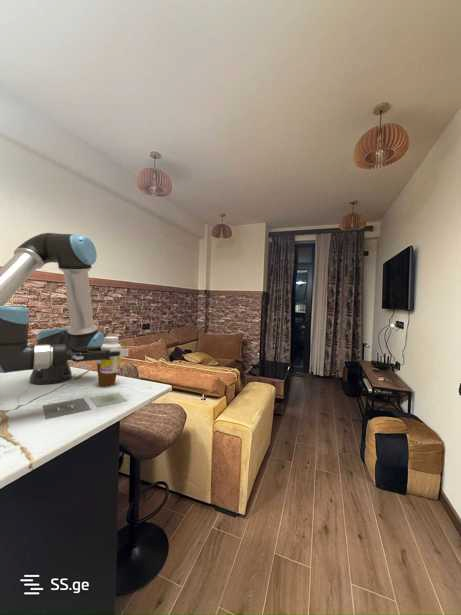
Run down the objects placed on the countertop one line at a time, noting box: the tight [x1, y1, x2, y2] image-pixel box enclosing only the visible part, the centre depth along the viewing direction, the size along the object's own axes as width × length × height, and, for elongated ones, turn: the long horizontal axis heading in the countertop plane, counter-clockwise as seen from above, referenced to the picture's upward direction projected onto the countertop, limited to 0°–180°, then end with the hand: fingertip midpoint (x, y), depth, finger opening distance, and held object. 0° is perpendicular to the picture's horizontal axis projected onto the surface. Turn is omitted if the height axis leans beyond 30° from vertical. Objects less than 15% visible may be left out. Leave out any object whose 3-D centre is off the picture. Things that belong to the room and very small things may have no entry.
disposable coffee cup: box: [95, 360, 118, 388], centre depth 105 cm, size 10×10×12 cm
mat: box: [90, 392, 128, 408], centre depth 89 cm, size 10×10×1 cm
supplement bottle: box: [100, 336, 122, 374], centre depth 89 cm, size 7×7×13 cm
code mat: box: [42, 397, 92, 420], centre depth 80 cm, size 12×12×1 cm
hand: (124, 350), depth 92 cm, fingers closed on supplement bottle, 7 cm apart
